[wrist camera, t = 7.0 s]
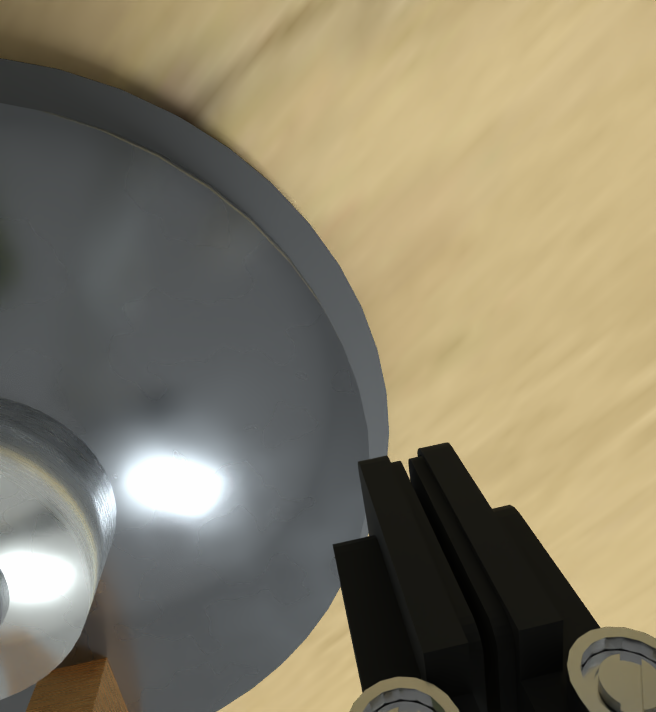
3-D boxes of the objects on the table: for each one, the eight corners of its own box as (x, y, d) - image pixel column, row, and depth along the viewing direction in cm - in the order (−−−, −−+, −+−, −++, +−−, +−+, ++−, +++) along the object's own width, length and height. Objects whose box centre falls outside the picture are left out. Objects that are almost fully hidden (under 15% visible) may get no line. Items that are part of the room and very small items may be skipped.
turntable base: (-609, 142, 13) (-697, 141, 12) (324, -5, 15) (331, -19, 13) (-159, 769, 21) (-184, 807, 20) (414, 628, 22) (424, 655, 21)
